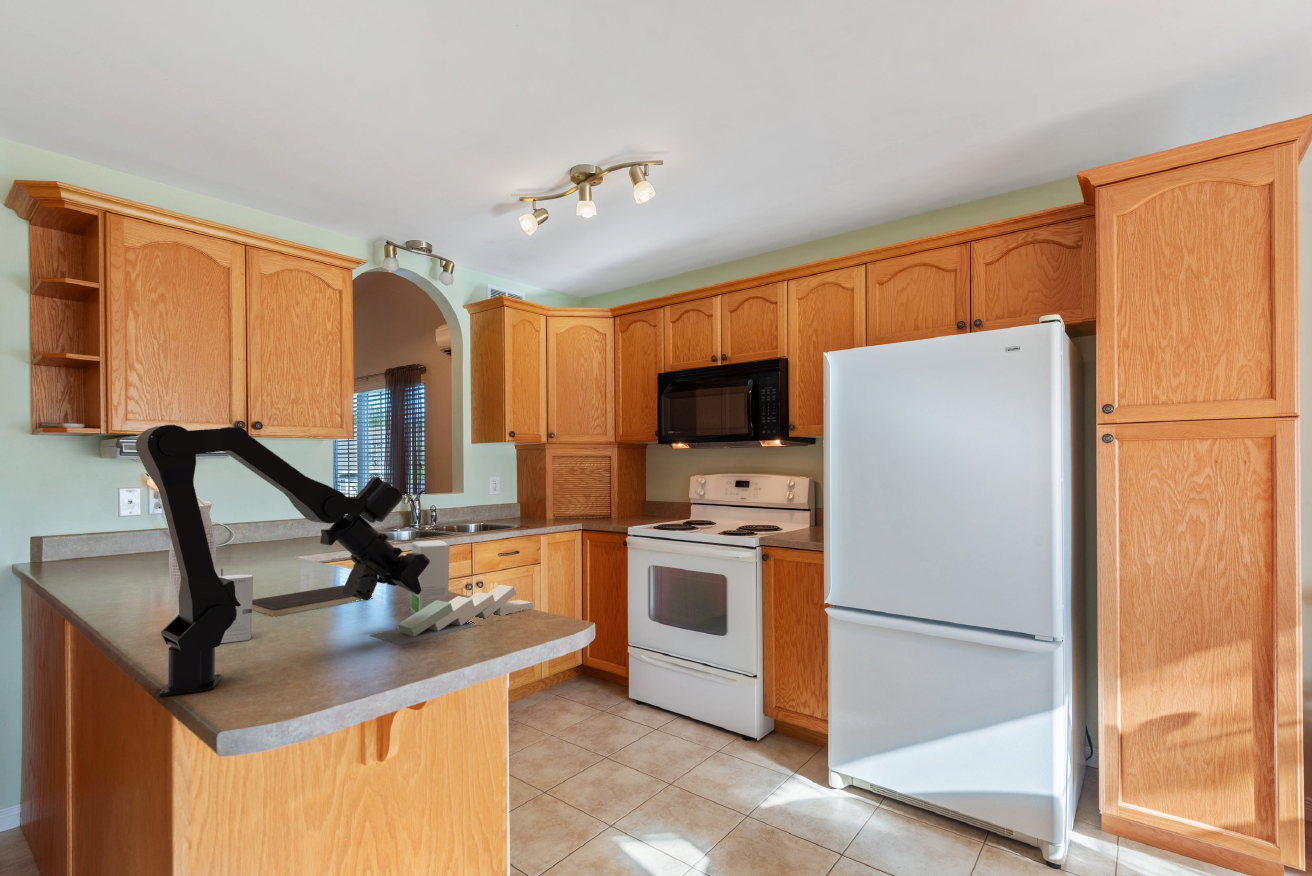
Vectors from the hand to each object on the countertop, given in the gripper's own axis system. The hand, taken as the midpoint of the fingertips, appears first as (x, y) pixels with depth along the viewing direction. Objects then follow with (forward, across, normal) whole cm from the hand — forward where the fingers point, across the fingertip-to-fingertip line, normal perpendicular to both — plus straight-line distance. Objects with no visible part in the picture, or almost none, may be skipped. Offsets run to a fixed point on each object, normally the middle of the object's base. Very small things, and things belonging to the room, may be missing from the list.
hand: (419, 592), depth 126 cm
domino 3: (+10, 0, 0) cm, 10 cm away
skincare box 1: (-11, -26, -22) cm, 36 cm away
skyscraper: (-14, -36, -25) cm, 46 cm away
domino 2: (+6, 0, -3) cm, 7 cm away
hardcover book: (+6, -48, -6) cm, 49 cm away
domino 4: (+14, 0, +5) cm, 15 cm away
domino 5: (+17, 0, +8) cm, 19 cm away
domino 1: (+3, 0, -7) cm, 7 cm away
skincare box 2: (+14, -15, +2) cm, 21 cm away
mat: (+10, 0, -2) cm, 10 cm away
